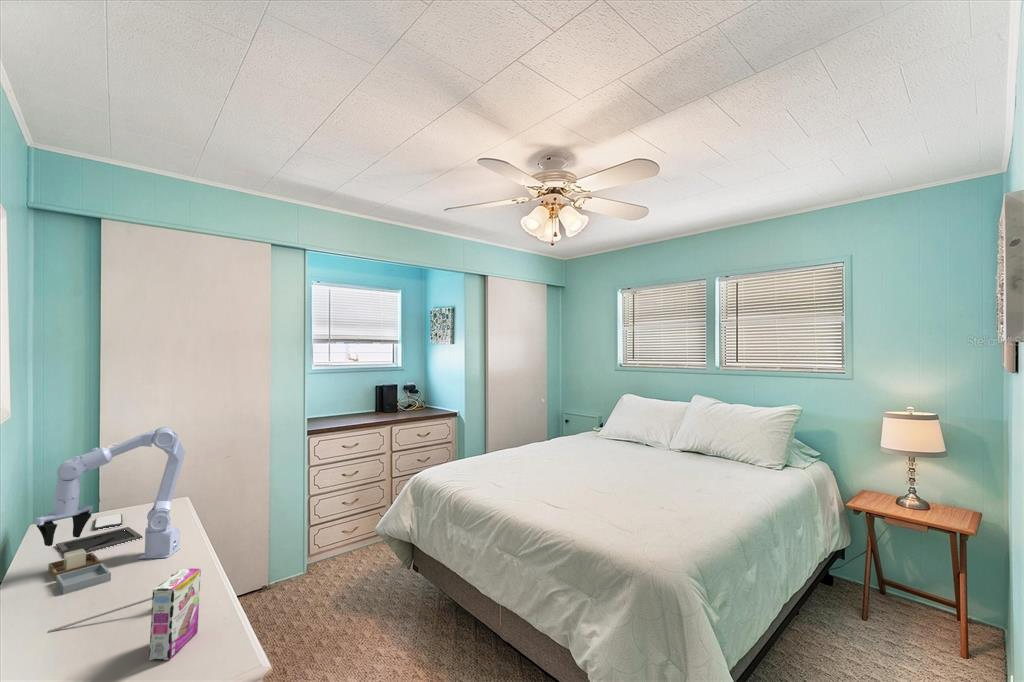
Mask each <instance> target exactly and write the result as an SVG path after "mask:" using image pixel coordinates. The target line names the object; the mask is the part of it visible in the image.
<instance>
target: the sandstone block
mask: <svg viewBox="0 0 1024 682" xmlns="http://www.w3.org/2000/svg"><path fill="white" fill-rule="evenodd" d="M86 554H87V553H86V551H85V550H84V549H79V550H74V551H70V552H66V553H64V554H63V560H64V570H67V569H71V568H75V567H79V566H82V565H86Z"/></svg>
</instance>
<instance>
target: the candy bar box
mask: <svg viewBox="0 0 1024 682" xmlns="http://www.w3.org/2000/svg"><path fill="white" fill-rule="evenodd" d="M201 571H202V569H201V568H182V569H180V570H179V572H177V571H176V572H177V573H176V572H175V573H176V574H175V573H174V574H175V575H173V576H172V577H171V576H170V577H169V578H168V579H166V580H165V581H164V582H162V583H160V584H159V585H158V586H156V587H155V588H153V589H152V596H151V597H152V600H151V602H152V603H151V616H150V617H151V618H150V636H149V637H150V638H149V650H148V651H149V652H148V653H149V654H148V655H149V656H148V661H150V662H159V661H160V662H162V661H164V662H165V661H170V660H172V658H173V657H174V656H175V655H176V654H177V653H178V652H179V651H181V650H182V648H183V647H184V646H185V645H186V644H188V643H189V641H190V640H191V639H192V638H193V637H194V636H196V634H198V627H199V609H200V607H199V606H200V591H201Z"/></svg>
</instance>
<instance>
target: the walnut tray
mask: <svg viewBox="0 0 1024 682" xmlns="http://www.w3.org/2000/svg"><path fill="white" fill-rule="evenodd" d="M101 563H102V562H101V560H100V558H98V557H97V555H95V553H94V552H89V553H86V565H82V566H79V567H75V568H71V569H67V570H64V559H62V560H61V559H60V560H57V561H54V562H50V563H48V566H47V568H48V570H47V571H48V573H49V575H50V576H51V578H52V579H53V581H54V582H56V575H60V574H63V573H67V572H71V571H75V570H78V569H82V568H86V567H89V566H93V565H97V564H101Z"/></svg>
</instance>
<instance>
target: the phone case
mask: <svg viewBox="0 0 1024 682" xmlns="http://www.w3.org/2000/svg"><path fill="white" fill-rule="evenodd" d="M122 522H124V521H123V514H122V513H118V514H111V515H106V516H105V515H104V516H97V517H96V518H95V520H94V524H93V531H94V530H98V529H103V528H109V527H115V526H120V525H122V526H123V523H122ZM120 527H121V526H120ZM115 528H116V527H115ZM109 529H110V528H109ZM98 531H99V530H98Z"/></svg>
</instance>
